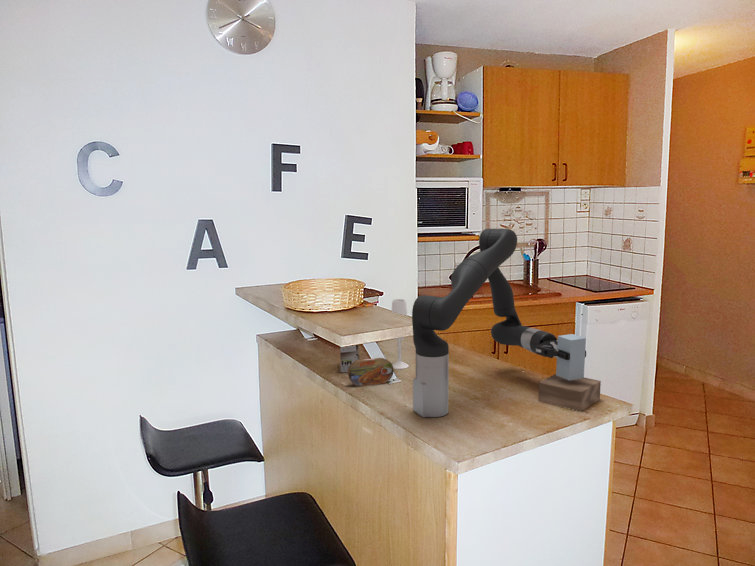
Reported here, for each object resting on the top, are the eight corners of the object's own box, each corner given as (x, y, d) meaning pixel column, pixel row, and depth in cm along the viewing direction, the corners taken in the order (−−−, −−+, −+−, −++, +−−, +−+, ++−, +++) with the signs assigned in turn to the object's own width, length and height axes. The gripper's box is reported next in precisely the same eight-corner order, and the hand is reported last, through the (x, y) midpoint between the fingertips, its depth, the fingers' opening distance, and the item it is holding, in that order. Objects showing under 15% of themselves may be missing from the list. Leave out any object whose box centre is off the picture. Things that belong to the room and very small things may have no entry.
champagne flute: (412, 365, 205) (412, 300, 202) (400, 369, 201) (399, 302, 197) (398, 362, 210) (398, 297, 206) (386, 366, 205) (385, 300, 201)
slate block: (569, 380, 165) (571, 340, 163) (556, 375, 170) (557, 335, 168) (583, 377, 167) (585, 338, 165) (570, 372, 172) (572, 333, 170)
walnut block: (580, 412, 160) (581, 392, 160) (538, 401, 169) (539, 382, 168) (599, 400, 170) (600, 381, 169) (558, 390, 179) (559, 372, 178)
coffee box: (358, 372, 198) (357, 327, 196) (340, 372, 198) (339, 327, 196) (360, 364, 207) (359, 321, 205) (342, 364, 207) (341, 321, 205)
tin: (349, 387, 183) (348, 362, 182) (347, 384, 186) (346, 359, 185) (394, 382, 187) (393, 358, 186) (391, 380, 190) (390, 355, 189)
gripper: (520, 332, 177) (558, 346, 161) (556, 327, 182) (596, 340, 167) (519, 356, 178) (557, 371, 163) (556, 350, 184) (595, 364, 168)
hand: (577, 355), depth 165 cm, fingers closed on slate block, 5 cm apart
